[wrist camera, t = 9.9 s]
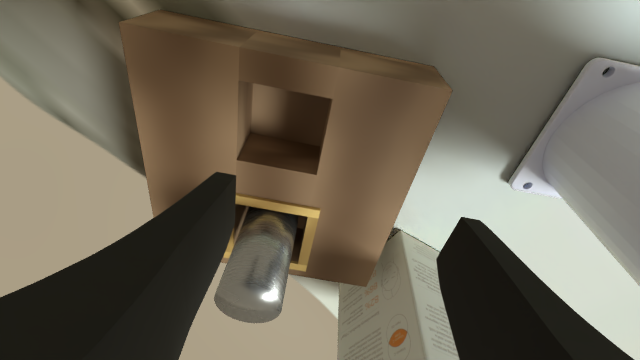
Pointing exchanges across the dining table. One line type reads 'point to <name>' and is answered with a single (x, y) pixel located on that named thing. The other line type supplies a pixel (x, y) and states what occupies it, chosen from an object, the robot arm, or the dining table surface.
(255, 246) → the pin
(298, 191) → the board
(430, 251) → the small box
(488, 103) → the dining table surface
